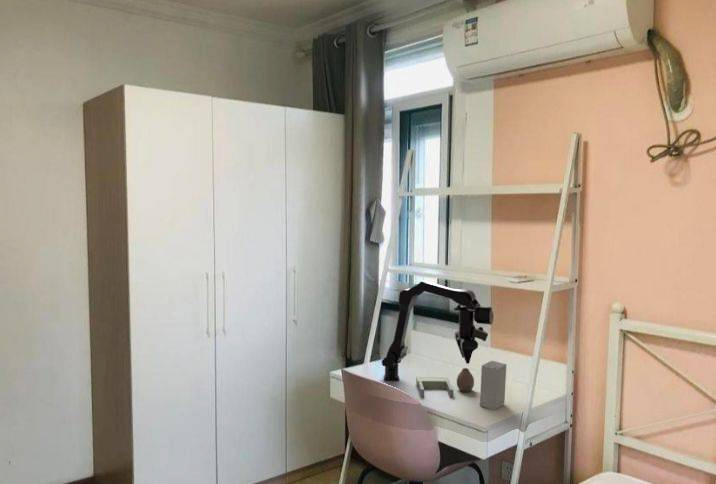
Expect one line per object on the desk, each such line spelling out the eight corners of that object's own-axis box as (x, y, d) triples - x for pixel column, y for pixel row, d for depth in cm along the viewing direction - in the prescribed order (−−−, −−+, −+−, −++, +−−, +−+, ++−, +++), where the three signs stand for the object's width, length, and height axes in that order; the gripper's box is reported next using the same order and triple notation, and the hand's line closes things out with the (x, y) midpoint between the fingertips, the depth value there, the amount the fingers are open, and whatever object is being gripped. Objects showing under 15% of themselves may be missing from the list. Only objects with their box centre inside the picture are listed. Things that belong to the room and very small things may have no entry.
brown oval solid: (453, 388, 231) (453, 367, 231) (468, 387, 234) (468, 365, 233) (462, 393, 225) (462, 372, 224) (477, 392, 227) (477, 370, 227)
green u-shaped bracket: (416, 383, 237) (416, 376, 237) (447, 384, 237) (447, 377, 237) (420, 397, 220) (420, 389, 220) (453, 397, 220) (454, 389, 220)
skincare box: (489, 400, 217) (490, 359, 216) (506, 405, 212) (507, 363, 211) (478, 406, 210) (479, 364, 209) (496, 411, 206) (497, 367, 205)
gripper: (491, 327, 218) (490, 367, 219) (481, 317, 237) (481, 354, 238) (462, 326, 218) (461, 366, 219) (454, 317, 237) (454, 354, 238)
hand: (465, 360), depth 229 cm, fingers open, 9 cm apart
